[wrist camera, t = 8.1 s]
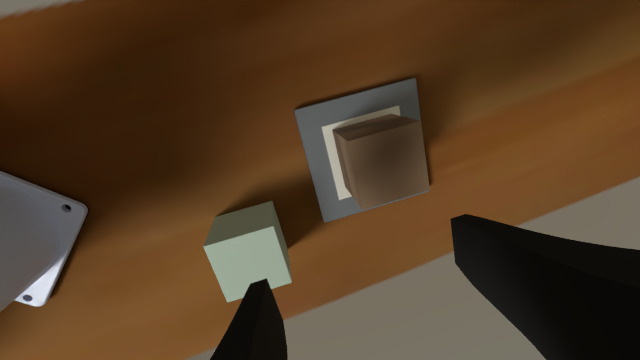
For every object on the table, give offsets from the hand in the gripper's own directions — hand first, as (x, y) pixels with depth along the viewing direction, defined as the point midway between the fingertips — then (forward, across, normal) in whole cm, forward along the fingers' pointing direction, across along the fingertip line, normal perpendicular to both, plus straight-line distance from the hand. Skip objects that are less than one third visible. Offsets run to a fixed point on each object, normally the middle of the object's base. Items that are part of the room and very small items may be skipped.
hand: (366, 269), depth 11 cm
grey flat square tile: (+10, -4, -1) cm, 11 cm away
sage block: (+10, +6, +2) cm, 12 cm away
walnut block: (+10, -4, -2) cm, 10 cm away
